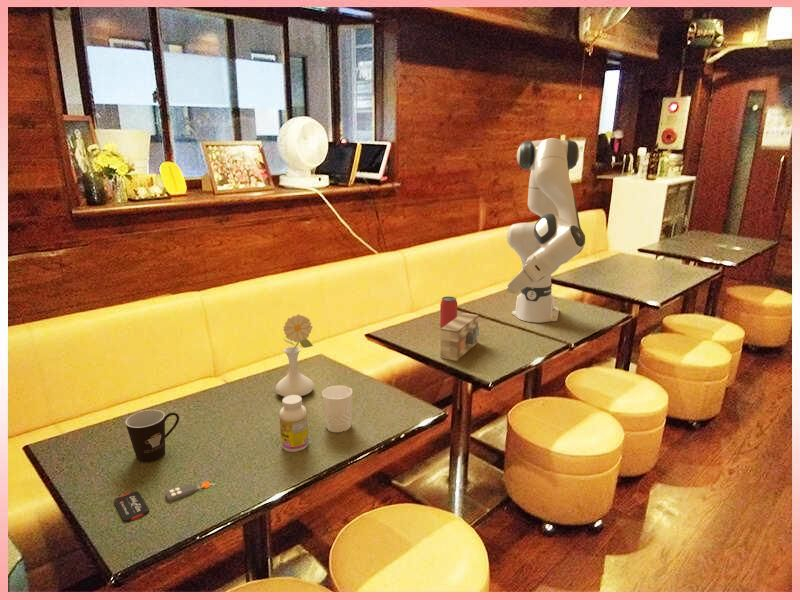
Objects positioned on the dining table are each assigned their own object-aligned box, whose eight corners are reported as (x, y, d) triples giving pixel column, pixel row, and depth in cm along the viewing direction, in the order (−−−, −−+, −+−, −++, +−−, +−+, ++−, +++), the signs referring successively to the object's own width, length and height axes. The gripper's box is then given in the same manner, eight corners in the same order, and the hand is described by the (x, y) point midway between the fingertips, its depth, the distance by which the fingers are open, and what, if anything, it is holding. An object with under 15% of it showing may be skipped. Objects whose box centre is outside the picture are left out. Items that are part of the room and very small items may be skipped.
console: (462, 339, 208) (463, 312, 205) (477, 342, 205) (478, 315, 202) (440, 357, 192) (440, 328, 189) (456, 360, 189) (457, 331, 186)
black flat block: (112, 499, 119) (137, 489, 122) (113, 501, 119) (137, 492, 122) (124, 522, 112) (150, 511, 115) (124, 525, 112) (150, 514, 115)
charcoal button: (468, 340, 197) (468, 332, 197) (476, 341, 196) (476, 333, 195) (464, 343, 195) (465, 335, 194) (472, 344, 194) (473, 336, 193)
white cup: (320, 422, 150) (318, 388, 147) (348, 416, 153) (346, 383, 150) (328, 436, 143) (326, 401, 140) (357, 430, 146) (356, 395, 143)
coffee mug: (131, 468, 130) (124, 430, 127) (131, 450, 138) (125, 413, 135) (184, 457, 135) (179, 420, 132) (182, 439, 142) (177, 404, 139)
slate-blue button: (471, 333, 204) (471, 326, 203) (478, 335, 202) (479, 327, 201) (467, 336, 201) (468, 328, 200) (475, 338, 200) (475, 330, 199)
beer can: (457, 330, 217) (458, 301, 213) (440, 330, 217) (440, 301, 214) (456, 324, 223) (456, 296, 220) (439, 324, 223) (440, 296, 220)
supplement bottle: (278, 442, 141) (274, 396, 137) (303, 435, 144) (300, 390, 140) (286, 455, 135) (283, 408, 131) (312, 448, 138) (309, 401, 134)
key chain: (169, 505, 118) (168, 499, 118) (165, 496, 121) (164, 490, 121) (229, 483, 126) (229, 478, 125) (224, 475, 128) (223, 470, 128)
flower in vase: (267, 396, 165) (261, 316, 157) (290, 381, 175) (285, 304, 167) (304, 405, 159) (299, 322, 152) (326, 389, 169) (322, 310, 162)
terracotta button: (456, 345, 193) (456, 337, 192) (464, 347, 191) (464, 339, 190) (453, 348, 190) (453, 340, 189) (461, 350, 189) (461, 342, 188)
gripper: (542, 250, 188) (513, 274, 196) (524, 265, 172) (492, 291, 179) (555, 264, 188) (524, 288, 196) (537, 281, 171) (505, 306, 179)
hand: (509, 290), depth 187 cm, fingers closed
